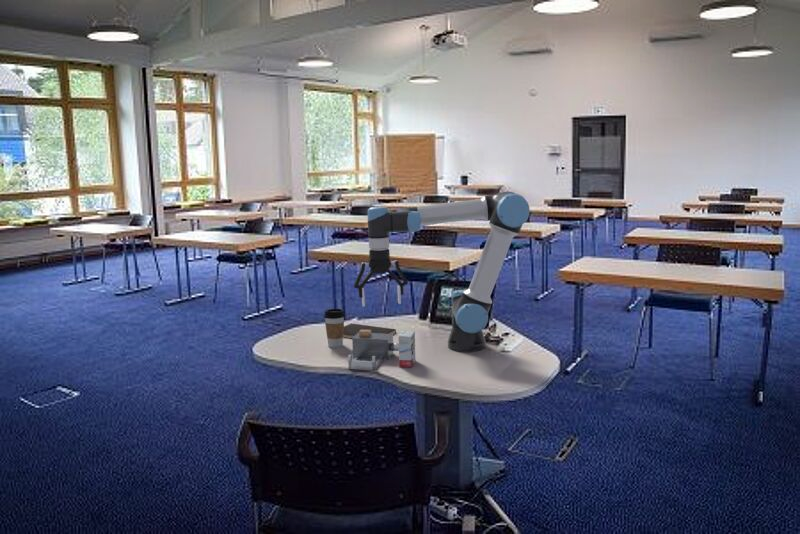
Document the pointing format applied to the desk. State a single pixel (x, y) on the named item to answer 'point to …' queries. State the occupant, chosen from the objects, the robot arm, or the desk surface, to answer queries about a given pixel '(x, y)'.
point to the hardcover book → (355, 328)
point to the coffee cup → (334, 327)
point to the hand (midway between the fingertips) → (381, 304)
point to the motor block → (373, 345)
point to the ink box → (406, 348)
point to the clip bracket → (364, 363)
